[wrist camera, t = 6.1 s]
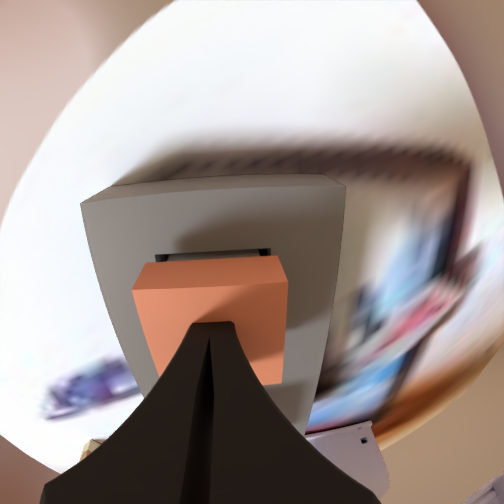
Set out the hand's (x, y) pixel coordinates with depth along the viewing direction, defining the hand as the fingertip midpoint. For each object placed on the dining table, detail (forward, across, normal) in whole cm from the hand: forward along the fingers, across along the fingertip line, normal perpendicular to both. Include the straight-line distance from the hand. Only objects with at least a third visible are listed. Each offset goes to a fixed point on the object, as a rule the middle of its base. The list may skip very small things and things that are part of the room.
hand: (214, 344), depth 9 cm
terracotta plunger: (+5, 0, 0) cm, 5 cm away
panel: (+6, 0, +4) cm, 7 cm away
